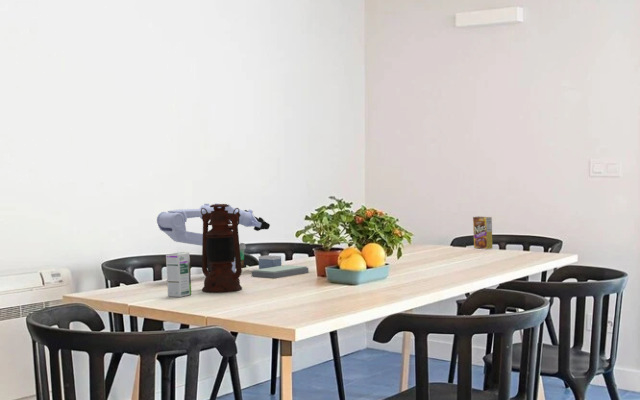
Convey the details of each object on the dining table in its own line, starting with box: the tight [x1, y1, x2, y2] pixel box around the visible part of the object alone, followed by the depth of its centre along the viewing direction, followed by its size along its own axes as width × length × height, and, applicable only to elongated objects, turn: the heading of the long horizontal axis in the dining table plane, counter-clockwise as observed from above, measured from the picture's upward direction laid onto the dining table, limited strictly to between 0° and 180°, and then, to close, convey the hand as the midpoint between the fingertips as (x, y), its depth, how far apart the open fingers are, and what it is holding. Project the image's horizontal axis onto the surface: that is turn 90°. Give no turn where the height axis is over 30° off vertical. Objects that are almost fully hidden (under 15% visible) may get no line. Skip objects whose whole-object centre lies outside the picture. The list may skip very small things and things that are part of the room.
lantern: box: [201, 203, 243, 294], centre depth 313 cm, size 17×14×30 cm
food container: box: [235, 242, 247, 270], centre depth 381 cm, size 12×6×10 cm, turn 143°
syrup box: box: [165, 251, 192, 298], centre depth 303 cm, size 6×6×14 cm
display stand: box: [251, 264, 310, 279], centre depth 353 cm, size 20×12×2 cm, turn 140°
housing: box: [258, 254, 282, 269], centre depth 367 cm, size 5×8×6 cm, turn 50°
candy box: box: [472, 216, 493, 250], centre depth 434 cm, size 9×4×15 cm, turn 35°
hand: (263, 223), depth 371 cm, fingers open, 7 cm apart
